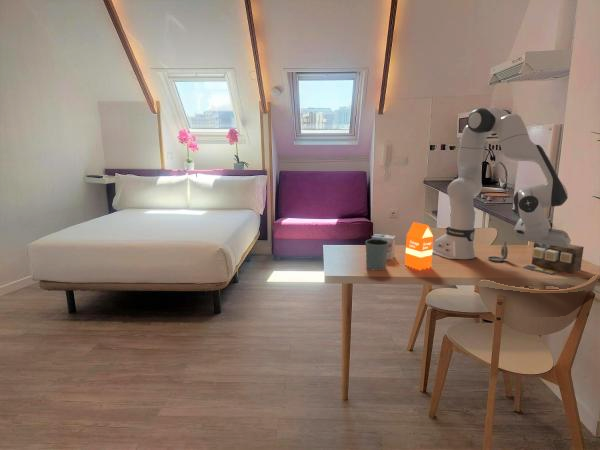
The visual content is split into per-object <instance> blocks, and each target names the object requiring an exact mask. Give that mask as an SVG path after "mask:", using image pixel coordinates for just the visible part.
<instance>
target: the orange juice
mask: <svg viewBox="0 0 600 450" xmlns="http://www.w3.org/2000/svg"><path fill="white" fill-rule="evenodd" d="M433 245H434V235H433V233H432V230H431V228H430V226H429V225H427V224H424V223H420V222H415V221H413V222H412V224H411V226H410V228H409V230H408V232H407V233H406V244H405V259H404V261H405V263H404V265H407V266H406V267H408V266H409V267H408V268H411V267H412V268H411V269H414V268H415V269H414V270H417V269H418V271H422V270H421V269H424V270H427V269H426V268H428V269H431V268H432V261H433V260H432V259H433V253H432V250H433V249H432V248H433ZM430 267H431V268H430Z"/></svg>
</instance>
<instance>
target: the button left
mask: <svg viewBox="0 0 600 450" xmlns="http://www.w3.org/2000/svg"><path fill="white" fill-rule="evenodd" d="M546 250H547V248H541V247H540V246H538V247H535V248H534V247H533V248H532V257H536V258H540V259H542V258H545V252H546ZM532 257H531V258H532Z"/></svg>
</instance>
